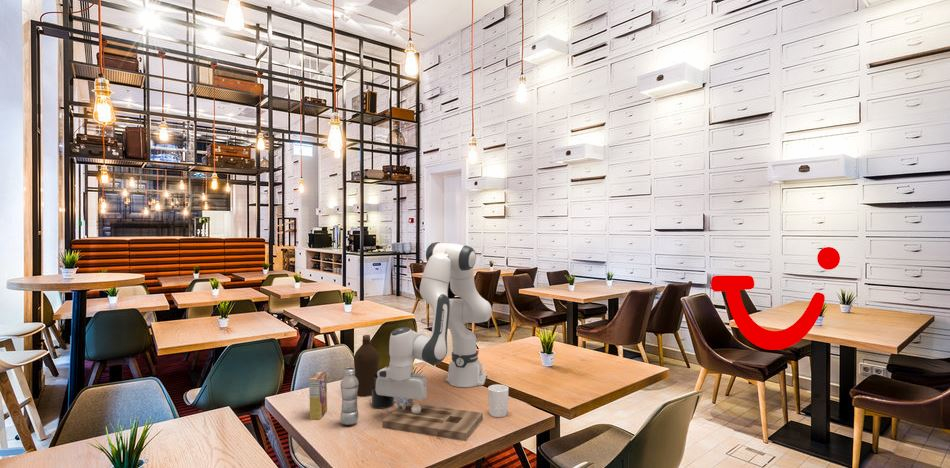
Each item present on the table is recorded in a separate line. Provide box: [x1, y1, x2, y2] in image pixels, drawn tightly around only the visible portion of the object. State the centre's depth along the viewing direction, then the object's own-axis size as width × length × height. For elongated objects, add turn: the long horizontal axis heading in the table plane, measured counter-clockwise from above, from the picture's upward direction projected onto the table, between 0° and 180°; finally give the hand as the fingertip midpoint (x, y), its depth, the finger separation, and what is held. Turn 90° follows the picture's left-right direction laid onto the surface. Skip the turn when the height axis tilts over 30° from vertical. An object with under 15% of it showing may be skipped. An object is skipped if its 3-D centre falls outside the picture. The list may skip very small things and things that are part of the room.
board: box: [381, 402, 484, 441], centre depth 163 cm, size 32×18×4 cm, turn 71°
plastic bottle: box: [339, 367, 360, 426], centre depth 163 cm, size 6×7×20 cm
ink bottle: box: [371, 374, 395, 409], centre depth 181 cm, size 10×9×12 cm
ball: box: [411, 403, 421, 414], centre depth 165 cm, size 4×4×4 cm
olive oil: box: [353, 334, 380, 397], centre depth 195 cm, size 11×11×25 cm
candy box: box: [308, 371, 328, 421], centre depth 171 cm, size 9×4×15 cm, turn 2°
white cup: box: [487, 384, 509, 418], centre depth 172 cm, size 8×8×10 cm
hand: (401, 408), depth 167 cm, fingers closed
